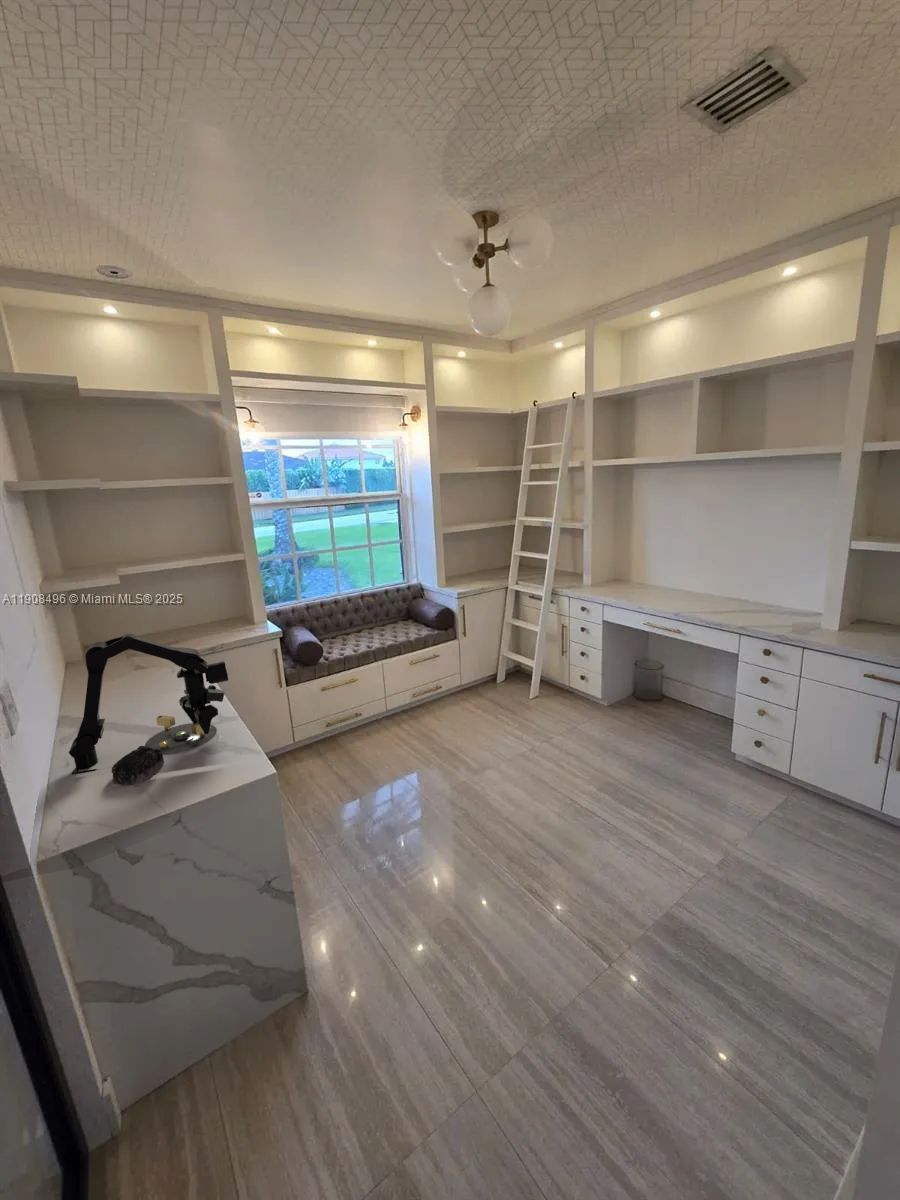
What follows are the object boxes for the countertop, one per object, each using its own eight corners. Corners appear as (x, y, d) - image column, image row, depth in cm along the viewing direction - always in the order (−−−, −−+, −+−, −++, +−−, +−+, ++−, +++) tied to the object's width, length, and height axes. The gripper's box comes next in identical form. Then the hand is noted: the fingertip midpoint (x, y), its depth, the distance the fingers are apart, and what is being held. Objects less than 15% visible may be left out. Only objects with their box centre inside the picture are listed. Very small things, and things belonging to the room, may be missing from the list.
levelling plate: (211, 751, 164) (210, 742, 163) (135, 763, 159) (134, 753, 158) (221, 721, 185) (220, 713, 184) (155, 731, 179) (154, 723, 179)
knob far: (176, 729, 177) (174, 716, 176) (171, 732, 175) (169, 719, 174) (163, 728, 178) (161, 714, 177) (158, 731, 176) (156, 717, 175)
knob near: (197, 740, 168) (195, 726, 167) (193, 739, 169) (191, 725, 168) (211, 733, 173) (209, 719, 172) (207, 732, 174) (205, 718, 173)
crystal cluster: (108, 777, 152) (99, 750, 149) (156, 756, 162) (149, 729, 158) (121, 798, 144) (112, 769, 140) (171, 774, 153) (164, 746, 150)
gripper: (230, 686, 166) (236, 729, 170) (209, 673, 179) (215, 713, 183) (195, 697, 159) (202, 742, 162) (175, 682, 171) (182, 724, 175)
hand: (201, 729), depth 171 cm, fingers open, 9 cm apart
